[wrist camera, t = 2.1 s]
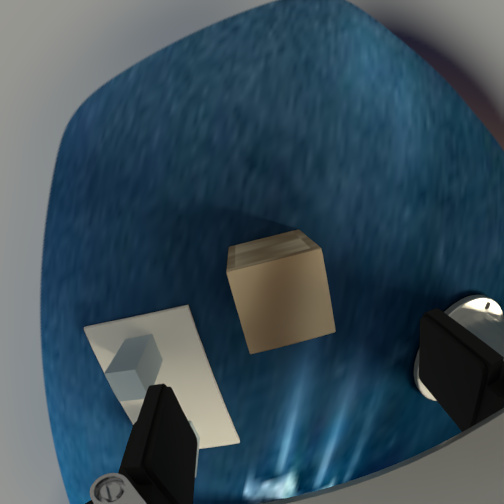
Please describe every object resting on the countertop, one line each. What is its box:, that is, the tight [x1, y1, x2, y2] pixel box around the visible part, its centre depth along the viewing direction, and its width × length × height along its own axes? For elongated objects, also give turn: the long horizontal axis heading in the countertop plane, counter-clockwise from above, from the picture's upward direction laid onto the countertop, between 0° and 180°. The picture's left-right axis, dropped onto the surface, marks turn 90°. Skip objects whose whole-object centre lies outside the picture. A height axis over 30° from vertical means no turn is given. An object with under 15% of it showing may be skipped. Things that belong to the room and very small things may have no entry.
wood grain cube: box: [226, 229, 336, 354], centre depth 21 cm, size 5×5×7 cm
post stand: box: [83, 305, 240, 477], centre depth 24 cm, size 10×16×6 cm, turn 14°
